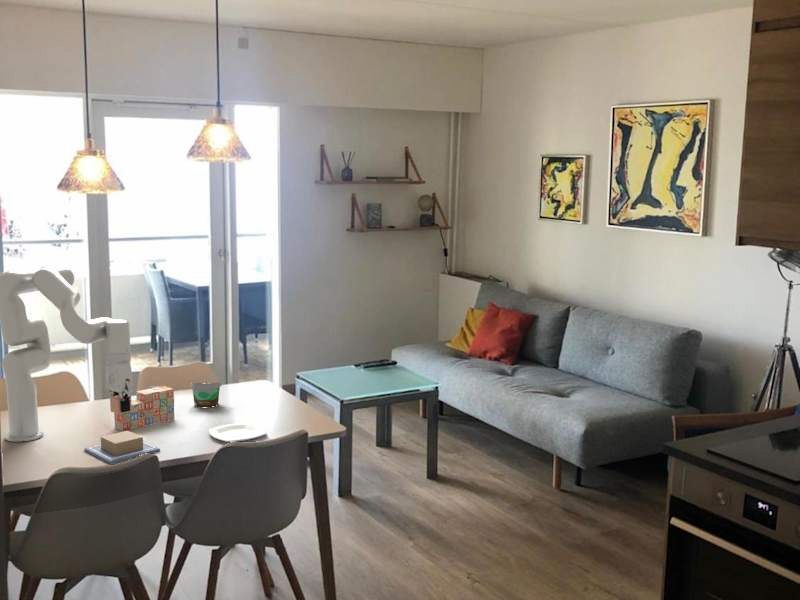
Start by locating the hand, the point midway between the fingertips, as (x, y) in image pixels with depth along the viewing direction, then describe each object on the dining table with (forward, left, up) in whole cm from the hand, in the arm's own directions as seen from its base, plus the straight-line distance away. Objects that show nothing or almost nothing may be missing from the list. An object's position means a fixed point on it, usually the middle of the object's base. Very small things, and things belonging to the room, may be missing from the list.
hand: (121, 409), depth 284 cm
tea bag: (-34, +34, -15) cm, 50 cm away
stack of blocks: (-23, +22, -15) cm, 35 cm away
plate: (+13, +38, -15) cm, 43 cm away
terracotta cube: (0, 0, -1) cm, 1 cm away
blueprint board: (0, 0, -15) cm, 15 cm away
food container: (-26, +51, -15) cm, 59 cm away
